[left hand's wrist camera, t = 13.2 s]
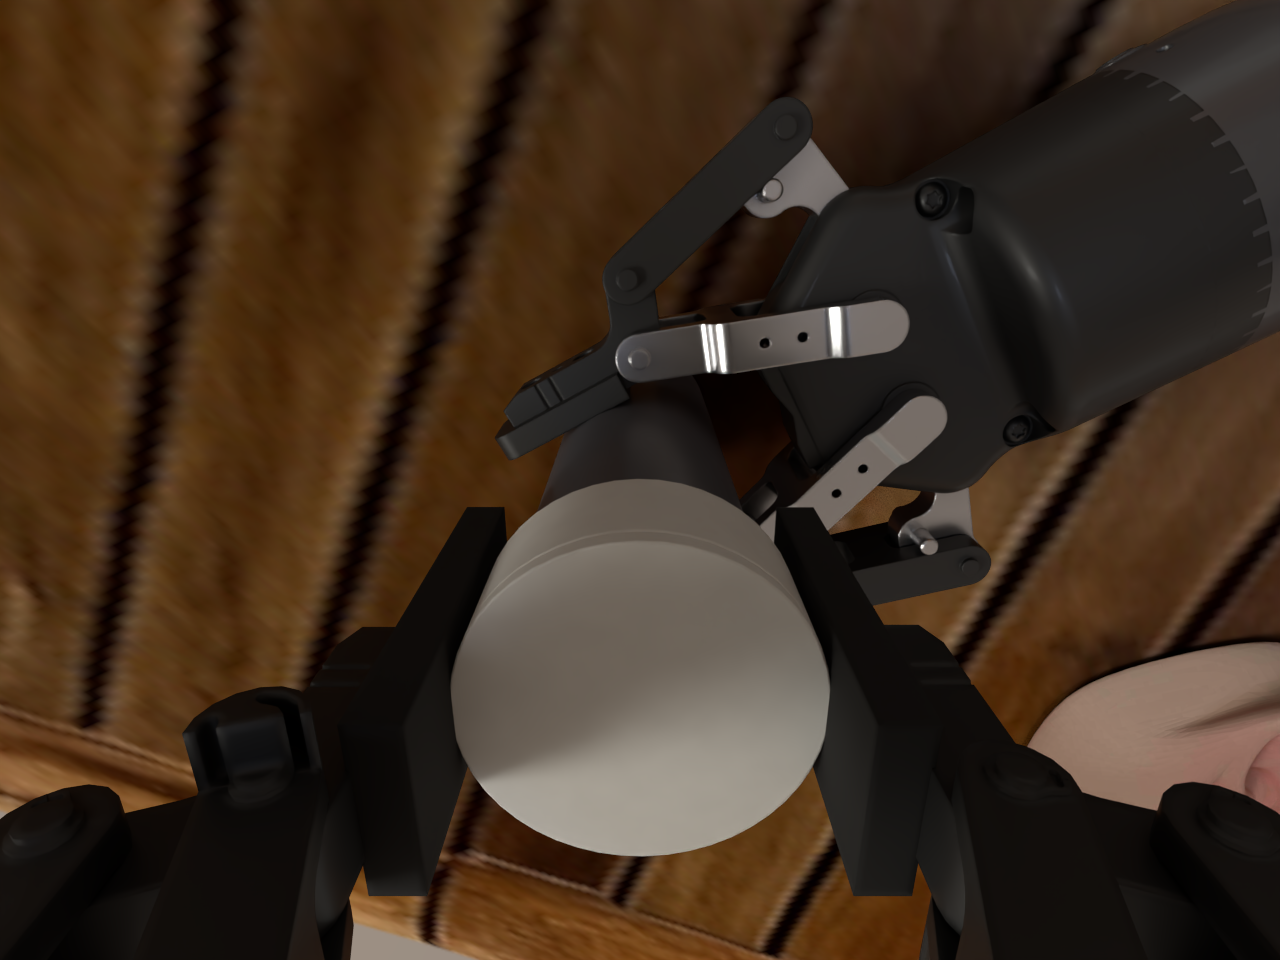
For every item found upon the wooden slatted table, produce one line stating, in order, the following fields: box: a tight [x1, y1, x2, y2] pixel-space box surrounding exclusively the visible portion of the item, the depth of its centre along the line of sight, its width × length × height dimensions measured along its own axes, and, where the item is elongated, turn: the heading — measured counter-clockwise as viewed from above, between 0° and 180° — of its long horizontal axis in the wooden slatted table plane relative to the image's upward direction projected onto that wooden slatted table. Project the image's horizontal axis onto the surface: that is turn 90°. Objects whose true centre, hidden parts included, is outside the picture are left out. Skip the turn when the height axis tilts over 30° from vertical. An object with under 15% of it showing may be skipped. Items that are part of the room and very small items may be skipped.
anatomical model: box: [1027, 642, 1280, 814], centre depth 29 cm, size 13×4×12 cm
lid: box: [450, 479, 830, 856], centre depth 11 cm, size 6×6×2 cm
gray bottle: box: [537, 375, 743, 512], centre depth 18 cm, size 5×5×16 cm
